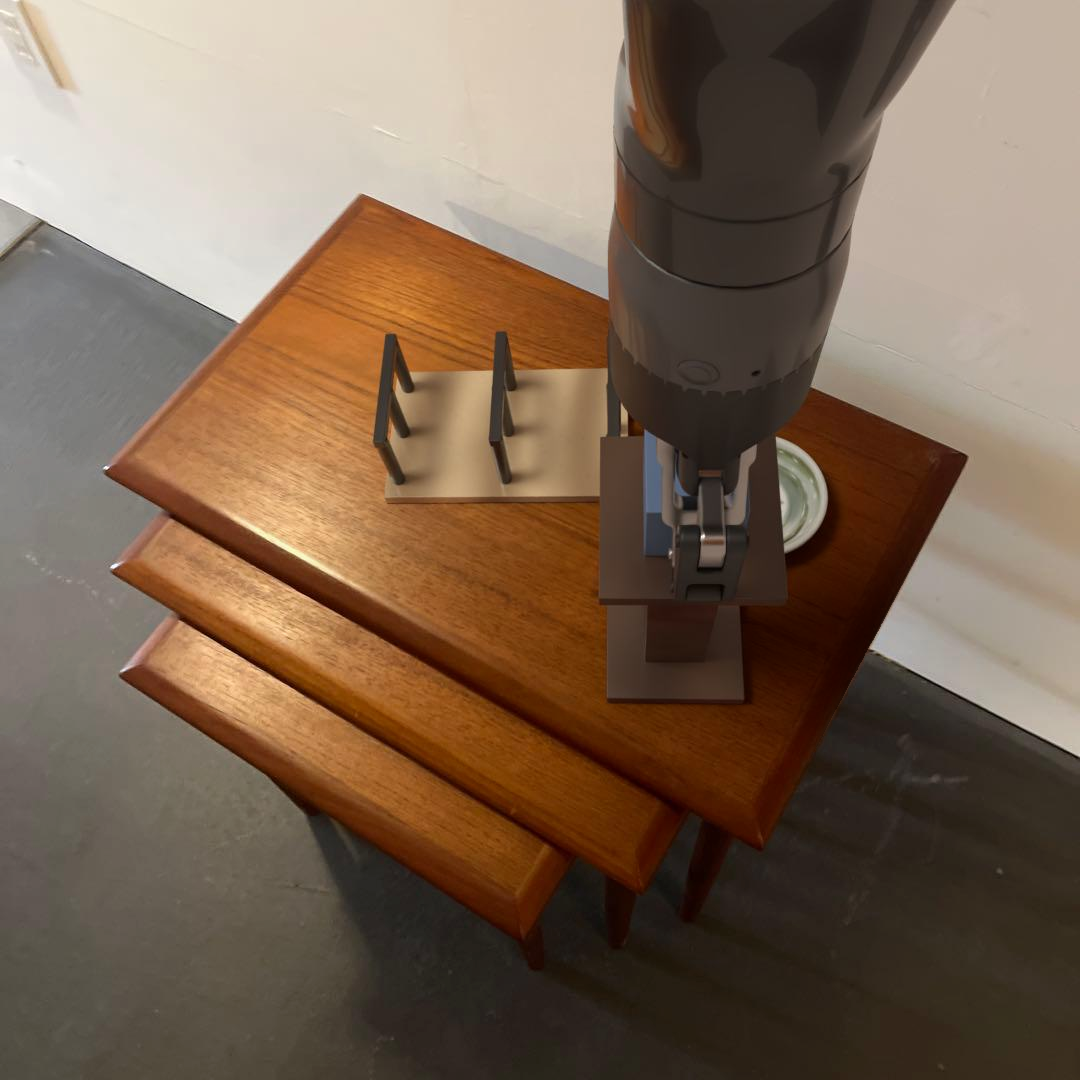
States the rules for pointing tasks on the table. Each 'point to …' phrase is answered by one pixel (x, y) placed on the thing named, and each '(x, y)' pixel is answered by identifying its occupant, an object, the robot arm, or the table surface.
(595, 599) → the table surface
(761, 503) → the stand
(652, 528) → the block
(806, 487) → the saucer
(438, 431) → the rack
